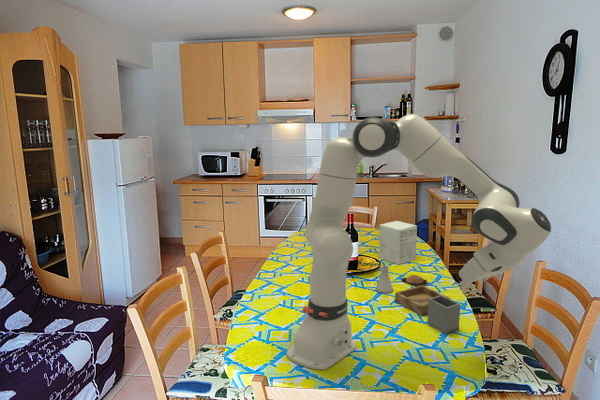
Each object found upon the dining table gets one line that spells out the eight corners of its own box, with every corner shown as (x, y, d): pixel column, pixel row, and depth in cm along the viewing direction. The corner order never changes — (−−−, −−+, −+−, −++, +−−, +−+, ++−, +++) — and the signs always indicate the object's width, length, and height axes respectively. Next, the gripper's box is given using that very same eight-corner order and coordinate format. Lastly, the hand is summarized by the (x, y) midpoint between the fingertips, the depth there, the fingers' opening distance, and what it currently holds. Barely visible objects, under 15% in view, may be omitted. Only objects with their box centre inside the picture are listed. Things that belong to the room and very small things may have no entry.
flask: (393, 294, 160) (394, 270, 159) (375, 293, 162) (375, 269, 160) (393, 287, 167) (393, 264, 166) (375, 286, 169) (375, 263, 167)
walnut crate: (450, 307, 148) (450, 298, 148) (422, 316, 142) (422, 307, 141) (422, 293, 161) (422, 285, 160) (395, 301, 154) (395, 292, 153)
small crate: (458, 329, 133) (460, 304, 131) (445, 334, 130) (447, 308, 128) (440, 319, 140) (441, 295, 138) (427, 323, 137) (428, 299, 135)
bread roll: (431, 284, 170) (432, 276, 170) (419, 290, 165) (419, 281, 165) (410, 277, 179) (411, 269, 178) (398, 282, 174) (398, 274, 173)
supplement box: (416, 259, 200) (417, 225, 196) (398, 265, 192) (399, 229, 189) (396, 252, 210) (397, 220, 207) (378, 257, 203) (378, 224, 200)
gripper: (515, 240, 120) (487, 267, 130) (472, 251, 110) (444, 279, 119) (531, 257, 117) (500, 283, 126) (487, 270, 107) (457, 297, 116)
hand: (472, 281), depth 123 cm, fingers open, 8 cm apart
